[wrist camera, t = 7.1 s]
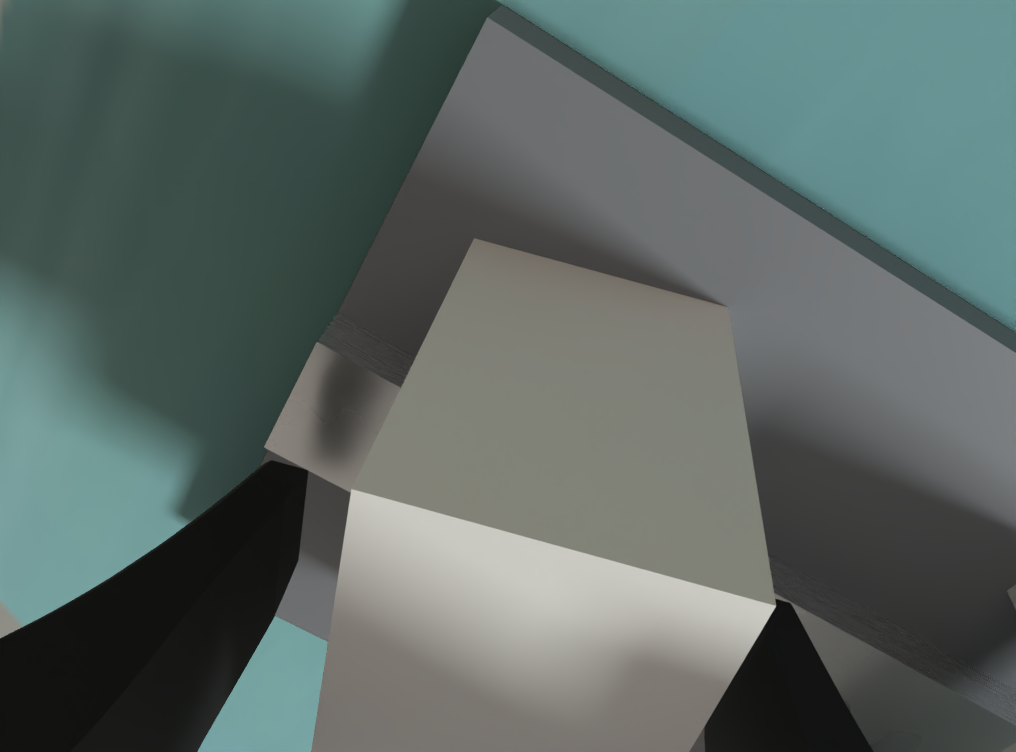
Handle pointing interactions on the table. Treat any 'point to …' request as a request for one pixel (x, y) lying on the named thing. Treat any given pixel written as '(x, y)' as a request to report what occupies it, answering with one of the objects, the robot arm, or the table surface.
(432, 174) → the rail board
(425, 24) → the table surface
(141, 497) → the table surface
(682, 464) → the block
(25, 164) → the table surface
